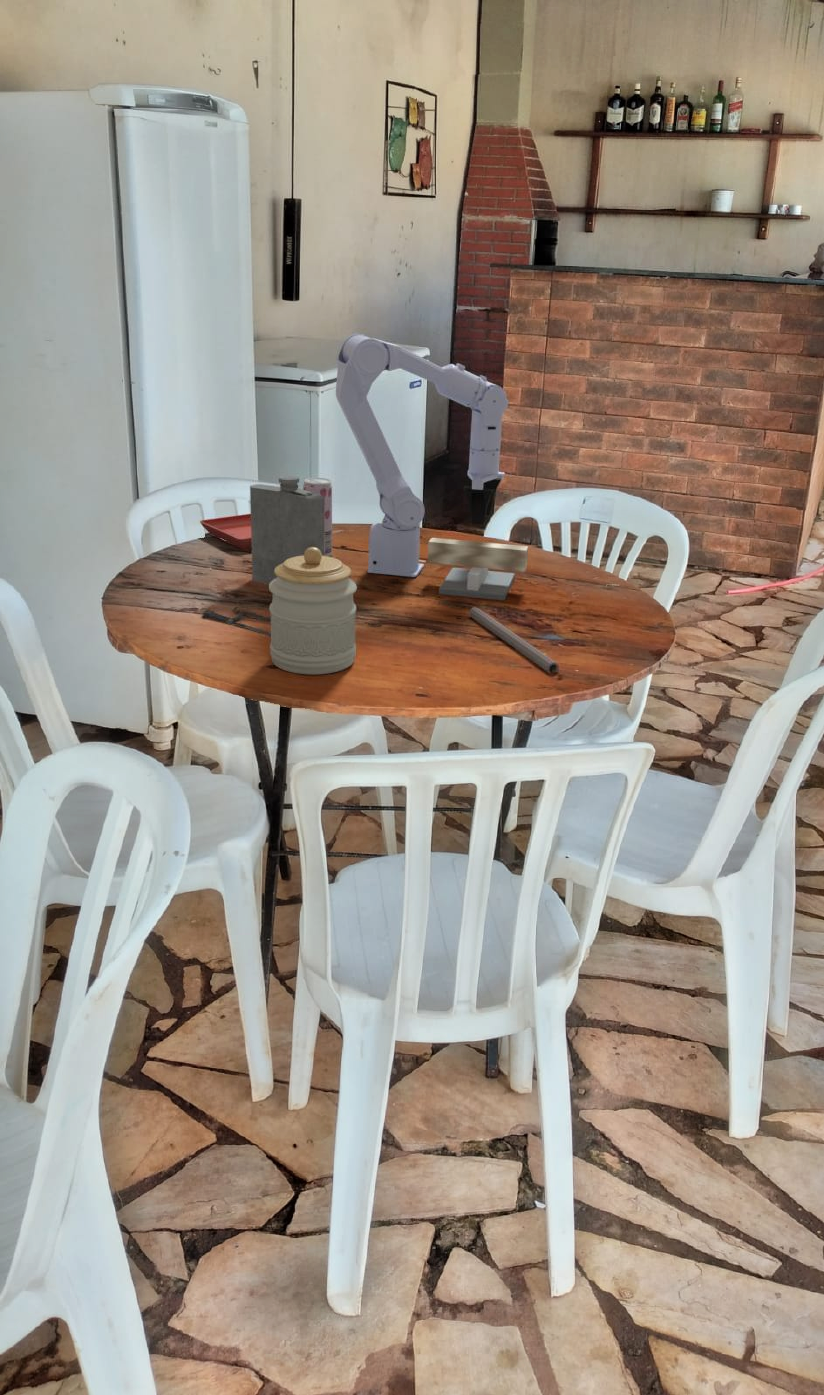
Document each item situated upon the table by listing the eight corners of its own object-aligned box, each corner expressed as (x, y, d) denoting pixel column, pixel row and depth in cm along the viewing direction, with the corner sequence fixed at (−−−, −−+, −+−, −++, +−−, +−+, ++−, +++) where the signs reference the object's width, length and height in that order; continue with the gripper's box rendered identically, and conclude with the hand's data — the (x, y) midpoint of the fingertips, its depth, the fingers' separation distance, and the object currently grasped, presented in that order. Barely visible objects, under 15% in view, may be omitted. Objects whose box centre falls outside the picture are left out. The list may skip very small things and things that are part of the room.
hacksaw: (197, 618, 183) (197, 611, 182) (238, 598, 190) (237, 590, 190) (312, 655, 171) (312, 647, 171) (351, 632, 179) (350, 624, 178)
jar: (280, 642, 172) (278, 533, 165) (361, 648, 171) (363, 538, 164) (261, 673, 161) (258, 557, 154) (348, 679, 159) (350, 562, 152)
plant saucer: (198, 534, 231) (197, 519, 230) (272, 524, 241) (272, 509, 240) (240, 555, 218) (239, 539, 217) (316, 543, 228) (316, 527, 227)
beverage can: (303, 551, 221) (302, 477, 215) (331, 551, 221) (331, 477, 215) (303, 559, 215) (303, 483, 209) (332, 559, 216) (332, 483, 210)
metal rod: (478, 617, 188) (479, 606, 187) (558, 673, 165) (559, 661, 164) (468, 618, 187) (469, 607, 186) (547, 675, 164) (548, 663, 164)
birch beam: (427, 562, 202) (428, 541, 200) (430, 558, 205) (431, 537, 203) (524, 571, 199) (526, 550, 197) (526, 567, 201) (528, 546, 200)
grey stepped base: (438, 594, 198) (439, 572, 196) (452, 572, 210) (453, 552, 209) (504, 600, 196) (505, 579, 194) (514, 578, 208) (515, 558, 207)
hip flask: (248, 580, 202) (245, 472, 194) (263, 575, 205) (260, 468, 197) (317, 597, 194) (316, 485, 186) (330, 592, 197) (331, 481, 189)
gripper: (500, 456, 199) (495, 529, 204) (511, 443, 212) (506, 512, 217) (462, 454, 200) (458, 526, 205) (475, 440, 213) (471, 509, 218)
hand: (480, 519), depth 211 cm, fingers open, 7 cm apart
